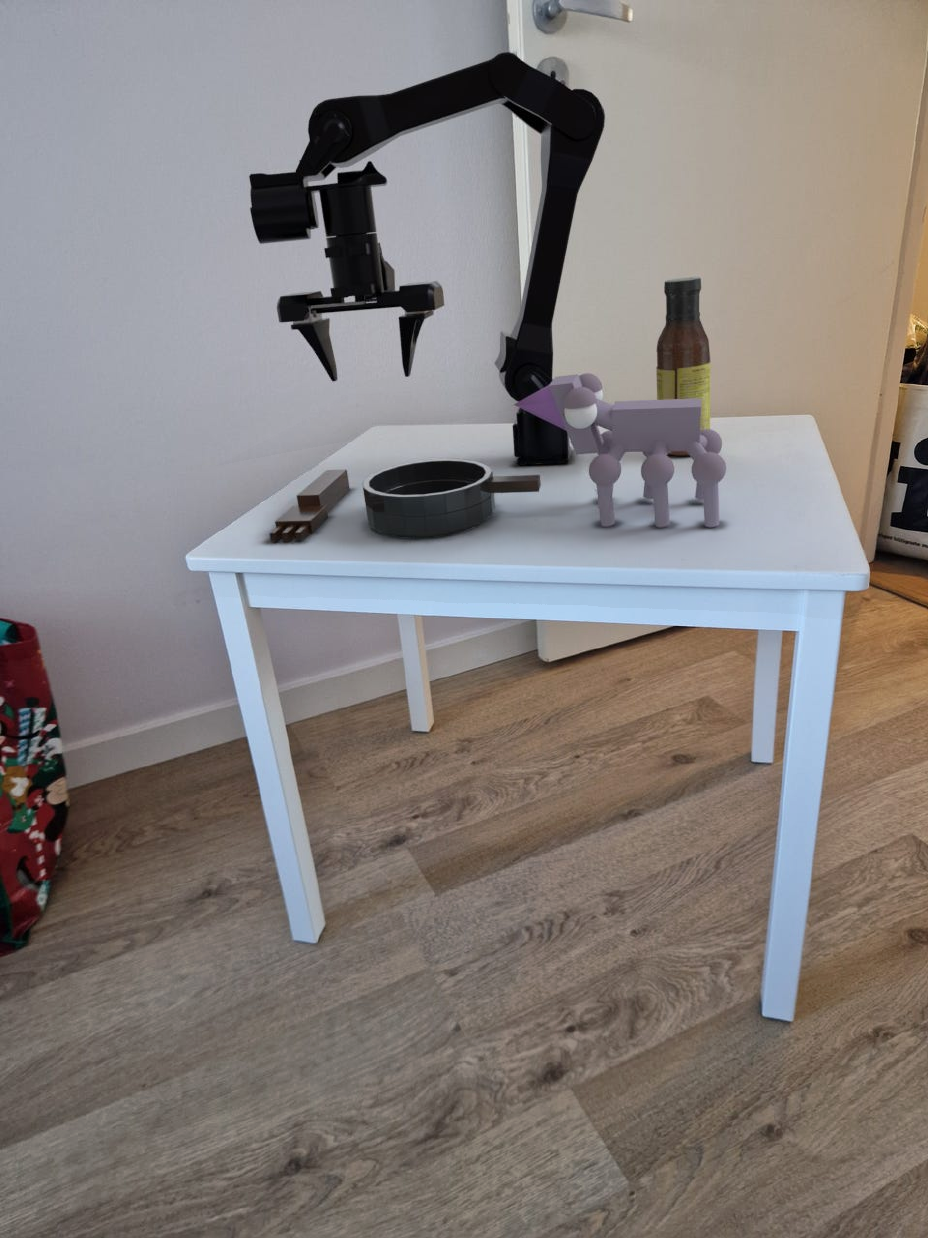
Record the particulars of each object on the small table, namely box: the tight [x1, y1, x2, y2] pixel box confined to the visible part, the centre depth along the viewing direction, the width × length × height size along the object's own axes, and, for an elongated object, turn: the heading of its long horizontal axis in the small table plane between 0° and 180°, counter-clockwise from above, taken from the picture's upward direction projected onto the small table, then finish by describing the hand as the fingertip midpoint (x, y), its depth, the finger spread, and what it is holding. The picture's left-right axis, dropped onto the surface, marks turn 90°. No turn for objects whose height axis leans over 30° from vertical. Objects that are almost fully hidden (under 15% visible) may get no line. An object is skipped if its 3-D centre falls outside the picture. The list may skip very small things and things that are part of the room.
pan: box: [362, 458, 496, 539], centre depth 82 cm, size 13×13×4 cm
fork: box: [269, 469, 351, 543], centre depth 87 cm, size 17×4×3 cm, turn 170°
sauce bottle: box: [655, 276, 711, 457], centre depth 93 cm, size 6×6×20 cm
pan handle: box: [490, 474, 542, 494], centre depth 80 cm, size 5×2×1 cm, turn 80°
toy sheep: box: [513, 372, 727, 528], centre depth 76 cm, size 20×11×14 cm, turn 74°
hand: (370, 378), depth 95 cm, fingers open, 9 cm apart
